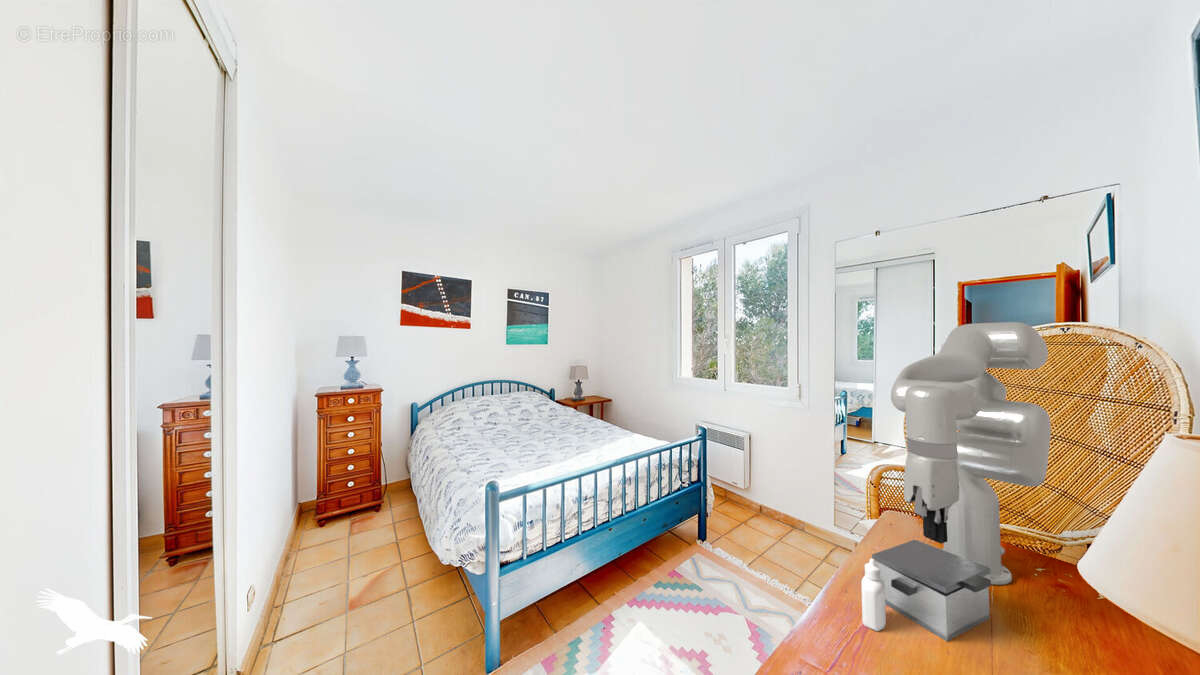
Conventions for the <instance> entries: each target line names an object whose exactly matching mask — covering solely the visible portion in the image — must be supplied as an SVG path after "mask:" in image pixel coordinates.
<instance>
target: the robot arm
mask: <svg viewBox="0 0 1200 675" xmlns="http://www.w3.org/2000/svg"><path fill="white" fill-rule="evenodd" d="M1048 356H1049V350H1048V346H1047V344H1046V341H1045V339H1044V338H1043V337H1042V336H1041V335H1040V334H1039V332H1038V331H1037V330H1036V329H1035V328H1033V327H1032V326H1031V325H1030V324H1027V323H1023V322H1016V321H1007V322H1005V321H1004V322H999V321H998V322H980V323H979V322H977V323H966V324H962V325H959V326H957V327H955V328H954V329H953V330H952V331H950V332H949V335H948V337H947V338H946V340H945V342H944V343H943V345H942V347H941V349H940V350H939V352H938V353H935V354H932V355H930V356H927V357H924V358H922V359H920V360H918V361H914V362H912V363H910V364H908V365H906V366H905V367H904V368H903V369H902V370H901V371H900V373H899V374H898V376H897V377H896V378H895V381H894V383H893V385H892V388H891V391H890V400H891V403H892V405H893V407H894V408H895V409H896V410H898V411H900V412H902V413H905V426H906V427H905V430H906V449H907V455H906V459H905V465H904V475H903V476H904V480H903V482H904V483H903V498H904V501H905V502H906V503H908V504H914V506H913V508H914V509H913V513H914V514H916V515H918V516H920V517H921V518H922V528H923V531H922V532H923V536H924V538H926V539H929V540H931V541H933V542H936V543H938V544H941V545H943V548H940V549H941V550H944V551H946V552H949V553H952V554H954V555H957V556H960V557H962V558H965V559H968V560H970V561H973V562H976V563H978V564H981V565H984V566H986V567H989V568H990V571H991V573H990V574H988V575H986V576H987V577H988V579H990V580H991V585H1000V586H1001V585H1008V584H1009V583H1011V582H1012V580H1013V578H1012V573H1011V571H1010V570H1009V569H1008V568H1007V567H1006V566H1004V565H1003V564H1002V555H1004V554H1005V553H1006V550H1005V548H1004V547H1003V546H1002V545H1001V525H1000V524H1001V523H1000V521H1001V520H1000V501H999V496H998V495H997V492H996V491H995V490H994V489H993V487H992V486H991V484H990V483H988V481H986V479H988V480H993V481H999V482H1004V483H1008V484H1013V485H1017V486H1022V487H1023V486H1024V487H1029V488H1030V487H1031V488H1032V487H1033V488H1034V487H1038V486H1041V485H1042V484H1043V483H1044V481H1045V479H1046V476H1047V473H1048V472H1047V471H1048V464H1049V456H1050V455H1049V453H1050V443H1051V442H1050V441H1051V434H1052V433H1051V432H1052V424H1051V419H1050V416H1049V414H1048V412H1047V410H1045V408H1043V407H1042V406H1040V405H1038V404H1035V403H1031V402H1026V401H1015V400H1006V399H1007V393H1008V390H1007V388H1006V386H1005V385H1004V384H1003V383H1002V382H1001V381H1000V380H999V379H998V378H997V377H996V376H994V375H993V374H991V373H989V372H988V371H986V370H987V369H1005V370H1007V369H1009V370H1010V369H1012V370H1035V369H1040V368H1041V367H1044V365H1045V364H1046V362H1047V360H1048Z"/></svg>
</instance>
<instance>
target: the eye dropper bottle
mask: <svg viewBox="0 0 1200 675" xmlns="http://www.w3.org/2000/svg"><path fill="white" fill-rule="evenodd" d="M868 561H869V562H866V563H865V564H864V576H863V577H862V579H861V583H860V584H861V616H862V617H861V618H862V624H863V626H865V627H867V628H869V629H871V630H873V631H876V632H879V631H881V630H883V629H884V628H885V627H886V623H887V620H886V619H887V616H886V615H887V614H886V604H885V585H884V582H883V580H882V579H881V577H880V568H879V567H878V566H877V565H876V564H875V560H874V559H872V557H871V558H869V560H868Z"/></svg>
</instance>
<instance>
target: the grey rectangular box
mask: <svg viewBox="0 0 1200 675" xmlns="http://www.w3.org/2000/svg"><path fill="white" fill-rule="evenodd" d="M875 564H876V565H877V566H878V567H879V568H880V577H881V579H882V580H883V582H884V585H885V606H887V607H889V608H891V609H892V610H894V611H896V612H897V613H899V614H901V615H902V616H904V617H905V618H908V619H909V620H910V621H913V622H914V623H915V624H918V625H919V626H920V627H922V628H924V629H925V630H927V631H929V632H930V633H932V634H934V635H935V636H937V637H939V638H940V639H942V640H943V641H945V642H949V641H951V640H953V639H955V638H956V636H957V637H959V636H960V635H962V634H964V633H965V632H968V631H970V630H971V629H973V628H976V627H977V626H978V625H980V624H981V625H982V624H983V623H984V622H986V621H988V620H990V617H991V616H990V592H989V587H990V586H989V587H987V588H985V589H983V590H981V591H979V592H977V593H975V592H973V591H971V590H968V589H966V588H964V587H960V588H958V589H955V590H953V591H951V592H949V593H947V594H946V593H944V592H942V591H939V590H937V589H935V588H933V587H931V586H929V585H926V584H924V583H922V582H920V581H918V580H916V579H914V578H911V577H909V576H907V575H905V574H903V573H901V572H898V571H896V570H894V569H892V568H890V567H888V566H885V565H883V564H881V563H879V562H877V561H875ZM984 577H985V578H987V579H988V577H987V576H984ZM954 637H955V638H954ZM952 638H953V639H952Z"/></svg>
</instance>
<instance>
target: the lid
mask: <svg viewBox="0 0 1200 675" xmlns="http://www.w3.org/2000/svg"><path fill="white" fill-rule="evenodd" d="M941 549H942V548H938V547H936V546H933V545H930V544H927V543H925V542H923V541H920V540H916V539H912V540H910V541H908V542H907V541H906V542H904V543H901V544H898V545H895V546H892V547H890V548H887V549H884V550H881V551H878V552H875V553H872V554H871V558H872V559H874V560H875V561H877V562H879V563H881V564H883V565H885V566H888V567H890V568H892V569H894V570H896V571H898V572H901V573H903V574H905V575H907V576H909V577H911V578H914V579H916V580H918V581H920V582H922V583H924V584H926V585H929V586H931V587H933V588H935V589H937V590H939V591H942V592H944V593H946V594H947V593H949V592H951V591H953V590H955V589H958V588H960V587H964V588H966V589H968V590H971V591H973V592H975V593H977V592H979V591H981V590H983V589H985V588H987V587H991V586H992V584H991V580H990V579H987V578H985V577H984V576H986V575H988V574H990V573H991V571H990V568H989V567H986V566H984V565H981V564H978V563H976V562H973V561H970V560H968V559H965V558H962V557H960V556H957V555H954V554H952V553H949V552H946V551H944V550H941Z"/></svg>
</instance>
